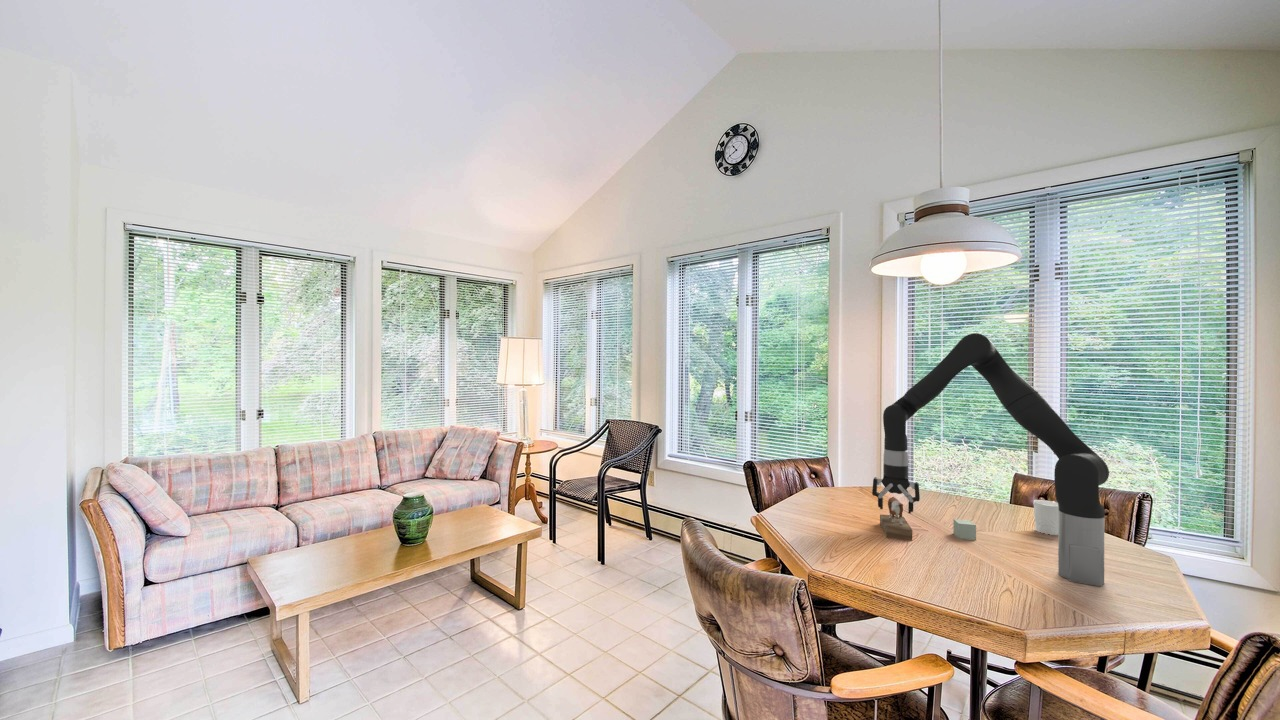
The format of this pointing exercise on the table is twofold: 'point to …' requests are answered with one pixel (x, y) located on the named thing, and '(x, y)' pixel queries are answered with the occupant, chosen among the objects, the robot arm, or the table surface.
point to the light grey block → (1046, 516)
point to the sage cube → (964, 529)
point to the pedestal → (895, 528)
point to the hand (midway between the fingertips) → (895, 510)
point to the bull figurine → (895, 509)
